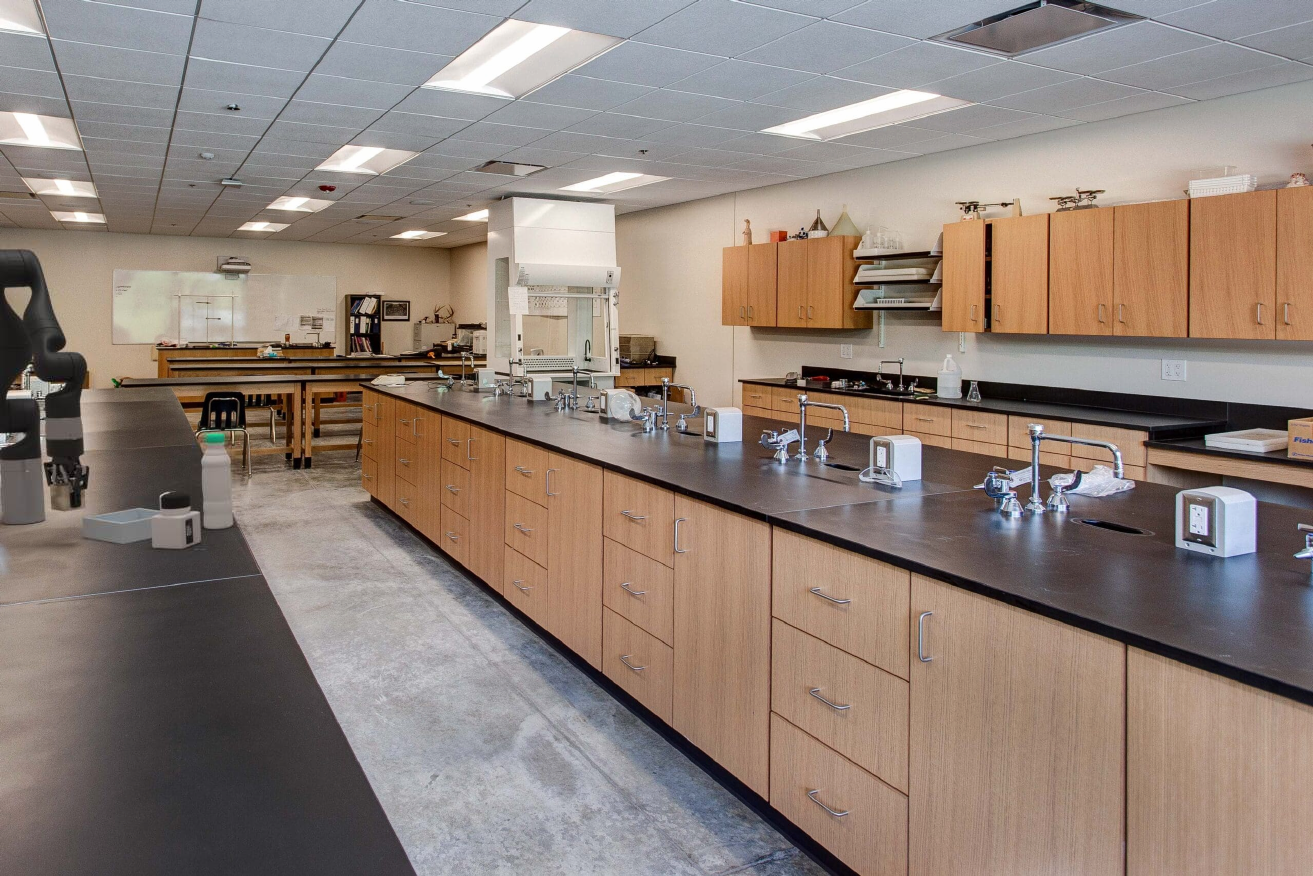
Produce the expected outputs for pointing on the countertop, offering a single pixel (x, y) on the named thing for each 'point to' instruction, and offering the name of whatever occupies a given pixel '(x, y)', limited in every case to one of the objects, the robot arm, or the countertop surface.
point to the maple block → (63, 497)
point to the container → (175, 522)
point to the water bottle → (216, 483)
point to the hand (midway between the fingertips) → (68, 505)
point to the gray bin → (120, 526)
